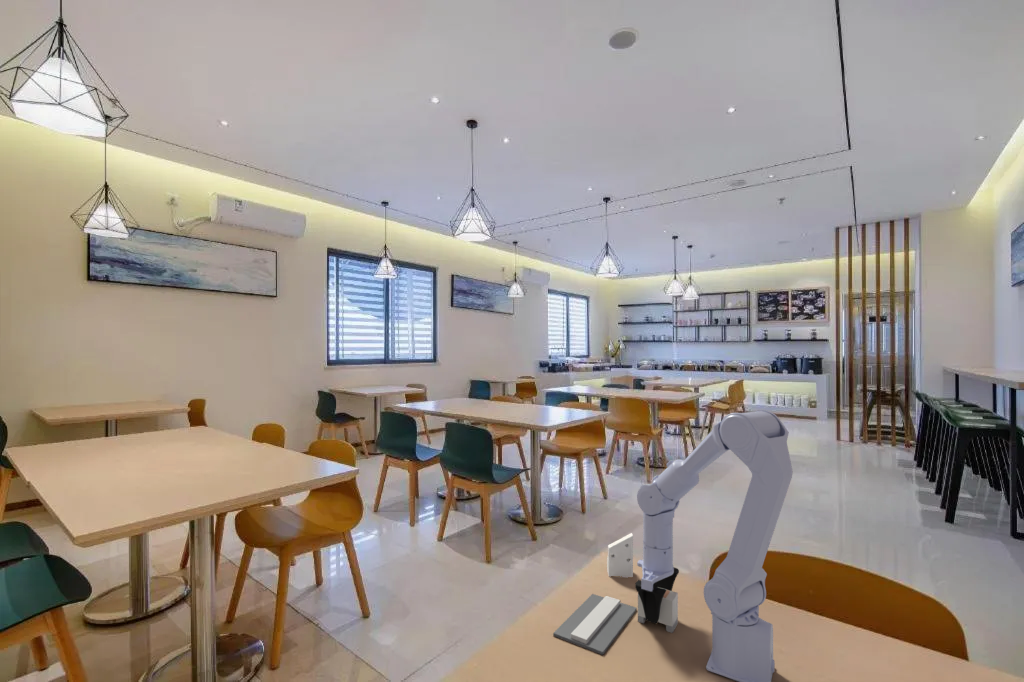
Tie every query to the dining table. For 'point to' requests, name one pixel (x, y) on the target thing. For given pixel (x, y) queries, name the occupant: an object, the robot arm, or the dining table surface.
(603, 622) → the din rail
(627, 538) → the white angled block
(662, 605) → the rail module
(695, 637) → the dining table surface
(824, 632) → the dining table surface
